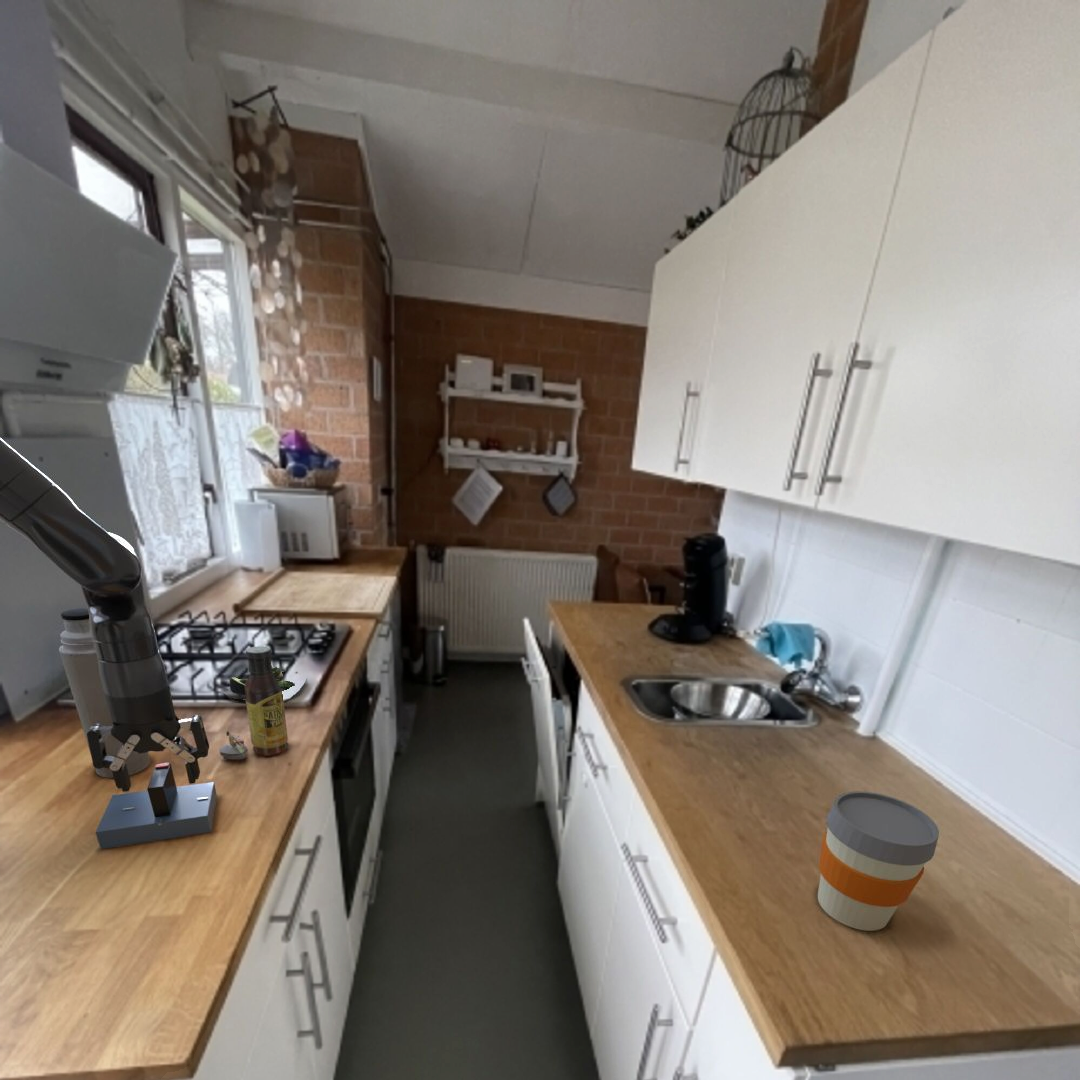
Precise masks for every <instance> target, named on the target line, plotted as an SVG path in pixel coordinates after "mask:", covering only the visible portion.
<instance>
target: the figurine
mask: <svg viewBox="0 0 1080 1080" xmlns="http://www.w3.org/2000/svg"><path fill="white" fill-rule="evenodd" d="M226 736H227V737H228V743H226V744H225V745H223V746H222V747H220V748H219V755H220V756H222V758H223V759H224V760H230V761H232V760H243V759H246V757H247V756H248V755H247V753H248V751H249V748H248V746H246V744H245V741H244V739H242V738H241V735H238V736H237V737H236V735H235V734H231V732H230V731H229V730H227V731H226Z"/></svg>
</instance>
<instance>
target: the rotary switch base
mask: <svg viewBox="0 0 1080 1080" xmlns="http://www.w3.org/2000/svg"><path fill="white" fill-rule="evenodd" d="M176 787H177V793H176V797H175V800H174V804H173V807H172V811H171V814H170V815H168V816H161V817H155V816H154V813H153V809H152V805H151V801H150V798H149V794H148V790H141V791H132V792H124V793H118V794H112V795H111V797H110V800H109V802H108V804H107V806H106V808H105V810H104V812H103V815H102V817H101V819H100V821H99V823H98V825H97V828H96V830H95V836H96V839H97V842H98V845H99V848H100V850H104V849H112V848H118V847H124V846H131V845H137V844H144V843H150V842H156V841H157V842H158V841H162V840H163V841H164V840H170V839H176V838H182V837H188V836H189V837H190V836H195V835H201V834H208V833H212V828H213V824H214V817H215V813H216V806H217V802H218V794H217V789H216V784H215V782H214V781H211V782H202V783H193V784H187V785H179V786H176Z"/></svg>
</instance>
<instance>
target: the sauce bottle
mask: <svg viewBox="0 0 1080 1080" xmlns="http://www.w3.org/2000/svg"><path fill="white" fill-rule="evenodd" d="M245 657H246V659H247V661H248V662H247V663H248V672H249V673H250V676H249V678H248V680H247V682H246V684H245V693H246V703H245V705H246V712H247V719H248V726H249V733H250V740H251V744H252V750H253V752H254V753H255V754H257V755H259V756H263V757H264V756H265V757H266V756H274V755H279V754H281V753H283V752H284V751H285V750H286V749H287V748H288V745H289V744H288V740H289V738H288V729H287V720H286V712H285V711H286V710H285V703H284V702H285V701H283V694H282V690H281V688H280V686H279V684H278V682H277V680H276V678H275V676H274V673H273V669H272V666H273V664H272V651H271V648H270V647H268V646H262V645H261V646H251V647H248V648H246V649H245Z"/></svg>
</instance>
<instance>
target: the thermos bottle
mask: <svg viewBox="0 0 1080 1080" xmlns="http://www.w3.org/2000/svg"><path fill="white" fill-rule="evenodd" d="M60 617H61V619H62V620H63V626H64V629H65V630H63V631H62V632H60V634H59V636H60V643H61V644H62V645H61V646H59V648H58V653H59V655H60V660H61V662H62V665H63V668H64V671H65V675H66V678H67V682H68V685H69V689H70V691H71V693H72V694H71V695H72V698H73V701H74V704H75V708H76V711H77V714H78V717H79V720H80V724H81V728H82V730H83V731H82V732H83V733H84V737H85V740H86V743H87V744H86V745H87V747H88V750H89V754H90V755H91V752H90V748H89V743H88V738H87V733H88V731H89V729H90V728H91V726H92V725H93V724H95V723H97V724H100V725H101V726H112V725H113V722H112V719H111V715H110V712H109V708H108V704H107V701H106V697H105V693H104V689H103V686H102V682H101V678H100V674H99V665H98V658H97V655H96V651H95V647H94V644H93V640H92V636H91V631H90V623H89V611H88V607H79V608H74V609H73V608H72V609H68V610H65V611H61V613H60ZM122 744H123V743H121V742H120V741H119V740H117V739H116V738H114V737H113V736H112V734H111V735H109V737H108V739H107V740H106V741H105V746H106V751H107V756H112V757H115V755H116V754H117V752H118V751H119V749H120V748H121V746H122ZM124 763H126V766H127V770H128V774H129V776H131V775H135V774H137V773H140V772H142V771H143V770H145V769H146V768H147V767H148V766H149V765H150V763H151V759H150V754H149V752H146V753H139V754H138V752H135V751H133V750H132V752H131V753H130V755H129V756H128V758H127V759H126V760H125V761H124ZM94 769H95V773H96V774H97V775H98V776H99V777H102V778H108V779H114V777H113V774H112V771H111V770H110V769H108V768H101V769H97V768H95V767H94Z"/></svg>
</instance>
